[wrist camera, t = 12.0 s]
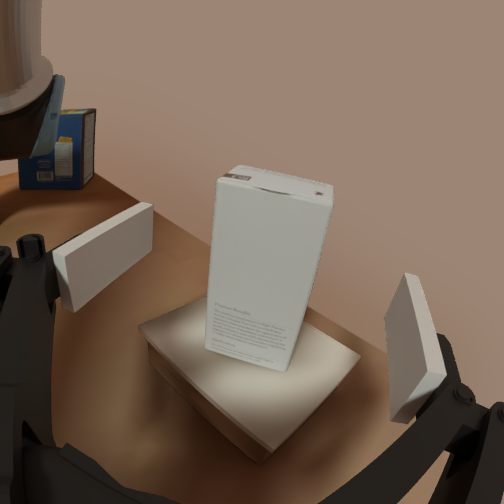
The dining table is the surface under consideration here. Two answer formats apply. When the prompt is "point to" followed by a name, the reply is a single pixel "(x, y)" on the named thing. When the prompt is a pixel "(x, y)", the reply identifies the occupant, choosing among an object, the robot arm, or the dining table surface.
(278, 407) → the podium
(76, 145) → the protein box
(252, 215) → the skincare box
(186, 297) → the dining table surface
